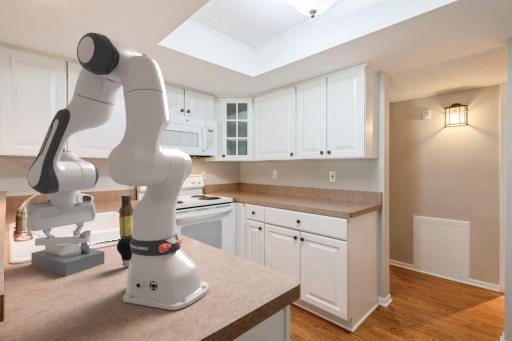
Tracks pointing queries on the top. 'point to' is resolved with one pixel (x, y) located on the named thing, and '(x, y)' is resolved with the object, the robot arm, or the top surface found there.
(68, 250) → the cover
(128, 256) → the light bulb
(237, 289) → the top surface
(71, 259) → the housing
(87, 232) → the t key
